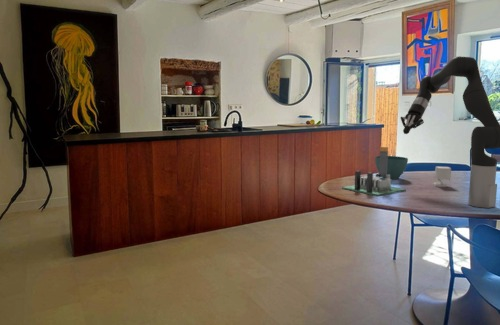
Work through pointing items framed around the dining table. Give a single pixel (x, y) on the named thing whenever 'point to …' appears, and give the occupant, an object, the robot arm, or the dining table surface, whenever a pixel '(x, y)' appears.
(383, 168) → the grey flat bar
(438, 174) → the security camera
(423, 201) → the dining table surface
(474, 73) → the robot arm
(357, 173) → the heatsink board
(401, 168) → the plant pot
